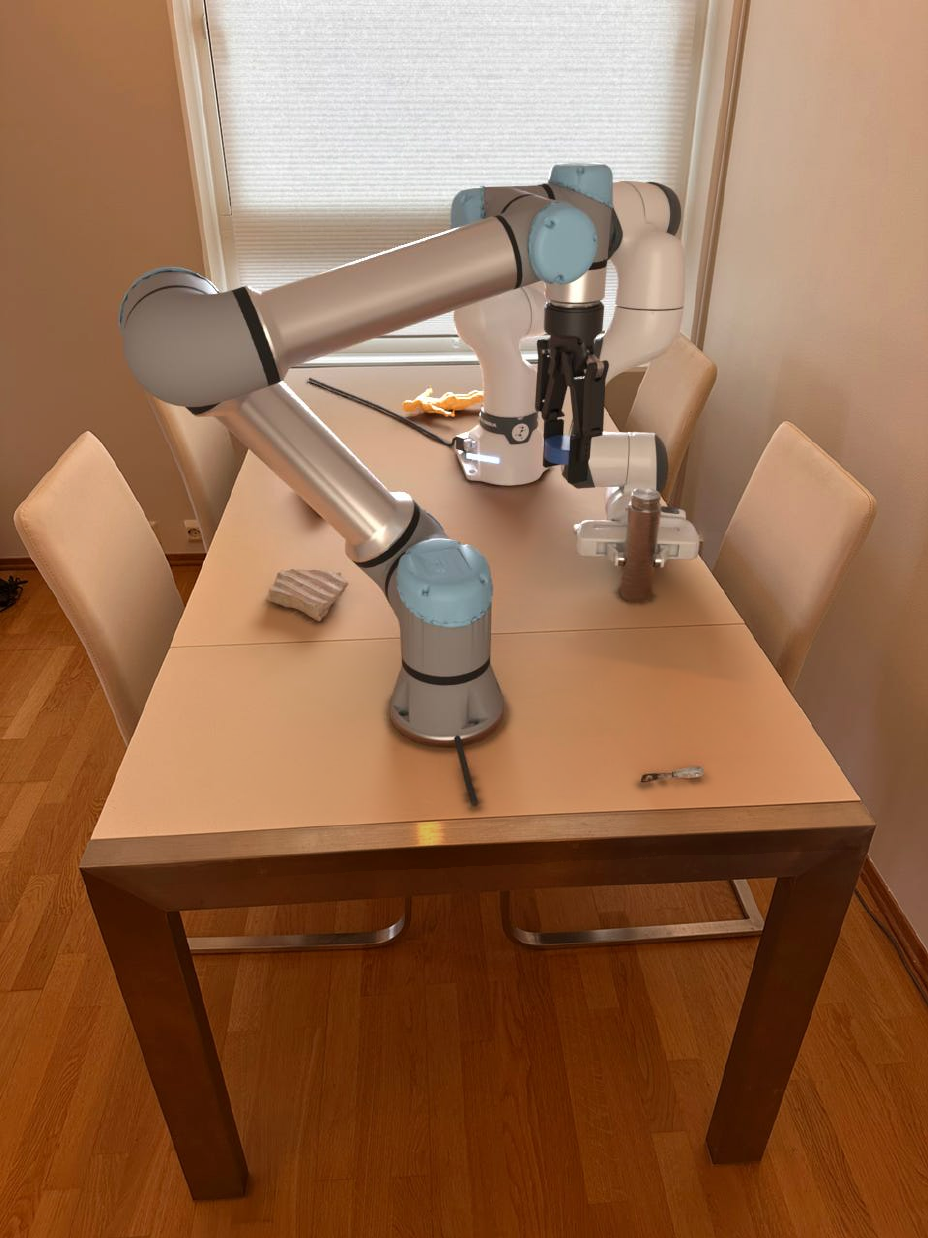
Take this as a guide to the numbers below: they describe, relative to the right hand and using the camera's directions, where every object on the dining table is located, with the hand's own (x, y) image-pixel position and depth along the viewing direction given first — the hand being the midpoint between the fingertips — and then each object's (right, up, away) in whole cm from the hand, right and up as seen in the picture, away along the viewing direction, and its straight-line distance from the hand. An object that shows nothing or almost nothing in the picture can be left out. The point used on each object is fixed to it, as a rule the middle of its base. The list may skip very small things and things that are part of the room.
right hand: (639, 562), depth 143 cm
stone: (-54, -6, +3) cm, 54 cm away
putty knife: (-3, -29, -34) cm, 45 cm away
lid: (-14, +15, -21) cm, 30 cm away
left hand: (-14, +11, -19) cm, 26 cm away
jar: (0, -5, +4) cm, 6 cm away
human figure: (-32, +44, +83) cm, 99 cm away
